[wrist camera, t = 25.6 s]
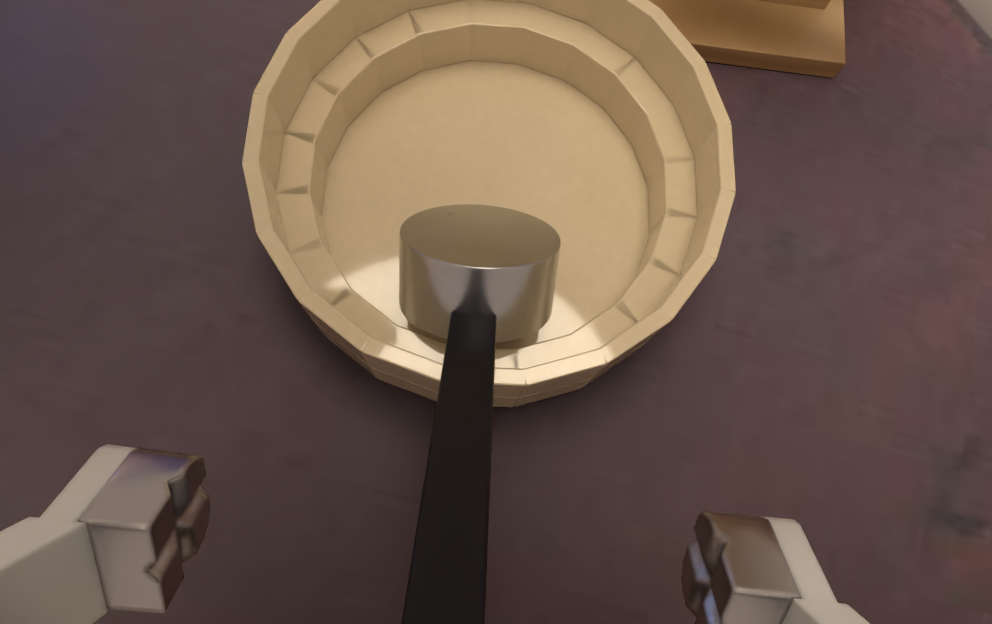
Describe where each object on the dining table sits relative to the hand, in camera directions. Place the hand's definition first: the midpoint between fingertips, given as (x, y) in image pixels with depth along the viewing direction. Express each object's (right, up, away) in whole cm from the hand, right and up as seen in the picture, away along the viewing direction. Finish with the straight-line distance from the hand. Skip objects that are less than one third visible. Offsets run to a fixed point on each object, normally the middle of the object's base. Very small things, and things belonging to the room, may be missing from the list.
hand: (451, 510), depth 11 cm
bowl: (0, +8, +20) cm, 21 cm away
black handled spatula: (0, 0, +9) cm, 9 cm away
